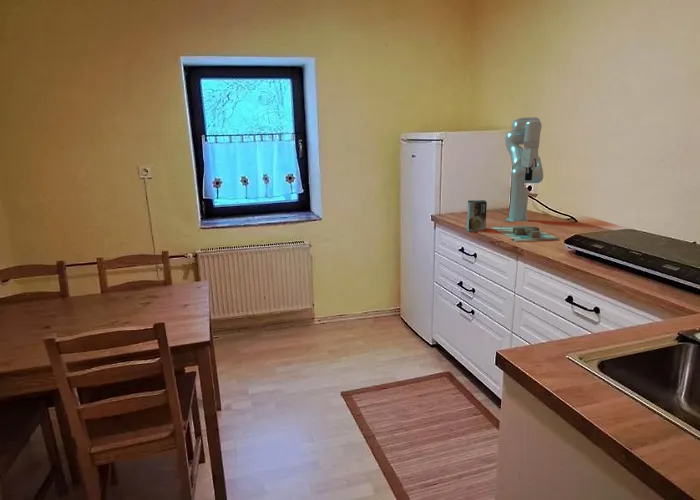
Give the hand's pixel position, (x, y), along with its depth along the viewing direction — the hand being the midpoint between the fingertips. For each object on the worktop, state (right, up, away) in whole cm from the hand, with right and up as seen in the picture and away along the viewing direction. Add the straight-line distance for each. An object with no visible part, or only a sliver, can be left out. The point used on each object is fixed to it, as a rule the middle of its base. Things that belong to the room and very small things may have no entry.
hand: (528, 180), depth 241 cm
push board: (-6, -29, -8) cm, 31 cm away
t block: (-5, -30, -15) cm, 34 cm away
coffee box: (-27, -27, +2) cm, 39 cm away
